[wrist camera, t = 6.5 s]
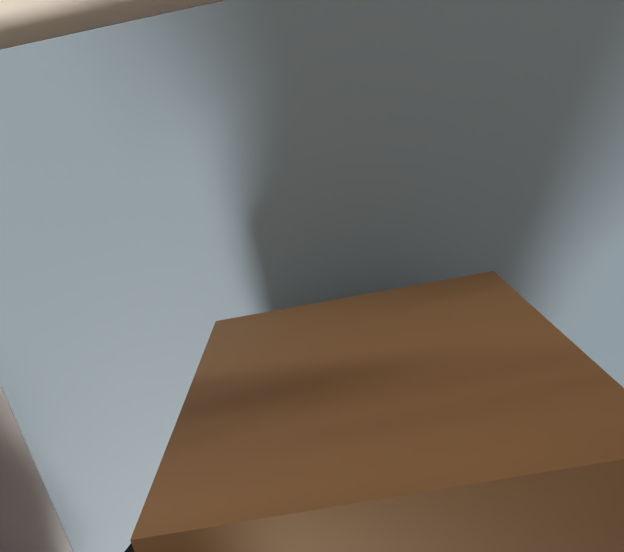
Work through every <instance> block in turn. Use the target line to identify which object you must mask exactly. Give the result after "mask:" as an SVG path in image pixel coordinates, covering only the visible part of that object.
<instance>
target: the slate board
mask: <svg viewBox="0 0 624 552" xmlns="http://www.w3.org/2000/svg"><path fill="white" fill-rule="evenodd" d="M490 271H494V272H495V273H496V274H497V275H498V276H500V277H501V278H502V279H503V280H504V281H505V282H506V283H507V284H508V285H510V286H511V287H512V288H513V289H514V290H515V291H516V292H517V293H518V294H520V295H521V296H522V297H523V298H524V299H525V300H526V301H527V302H529V303H530V304H531V305H532V306H533V307H534V308H535V309H536V310H537V311H539V312H540V313H541V314H542V315H543V316H544V317H545V318H546V319H547V320H549V321H550V322H551V323H552V324H553V325H554V326H555V327H556V328H557V329H559V330H560V331H561V332H562V333H563V334H564V335H565V336H566V337H567V338H569V339H570V340H571V341H572V342H573V343H574V344H575V345H576V346H577V347H579V348H580V349H581V350H582V351H583V352H584V353H585V354H586V355H588V356H589V357H590V358H591V359H592V360H593V361H594V362H595V363H596V364H598V365H599V366H600V367H601V368H602V369H603V370H604V371H605V372H606V373H608V374H609V375H610V376H611V377H612V378H613V379H614V380H615V381H616V382H618V383H619V384H620V385H621V386H622V387H623V388H624V0H224V1H219V2H214V3H210V4H205V5H201V6H196V7H192V8H187V9H183V10H178V11H174V12H169V13H164V14H160V15H155V16H151V17H146V18H142V19H137V20H133V21H128V22H123V23H119V24H114V25H110V26H105V27H101V28H96V29H92V30H87V31H83V32H78V33H73V34H69V35H64V36H60V37H55V38H51V39H46V40H42V41H37V42H33V43H28V44H23V45H19V46H14V47H10V48H5V49H1V50H0V385H1V388H2V390H3V392H4V395H5V397H6V399H7V401H8V404H9V406H10V408H11V410H12V413H13V415H14V417H15V420H16V422H17V424H18V426H19V429H20V431H21V433H22V436H23V438H24V440H25V442H26V445H27V447H28V449H29V452H30V454H31V456H32V458H33V461H34V463H35V465H36V468H37V470H38V472H39V474H40V477H41V479H42V481H43V483H44V486H45V488H46V490H47V493H48V495H49V497H50V499H51V502H52V504H53V506H54V509H55V511H56V513H57V515H58V518H59V520H60V522H61V525H62V527H63V529H64V531H65V534H66V536H67V538H68V540H69V543H70V545H71V547H72V550H73V552H125V550H126V549H127V548H128V546H129V545H130V544H131V541H130V539H131V537H132V534H133V531H134V529H135V526H136V524H137V521H138V519H139V516H140V514H141V511H142V508H143V506H144V503H145V501H146V498H147V496H148V493H149V491H150V488H151V485H152V483H153V480H154V478H155V475H156V473H157V470H158V468H159V465H160V462H161V460H162V457H163V455H164V452H165V450H166V447H167V444H168V442H169V439H170V437H171V434H172V432H173V429H174V427H175V424H176V421H177V419H178V416H179V414H180V411H181V409H182V406H183V404H184V401H185V398H186V396H187V393H188V391H189V388H190V386H191V383H192V381H193V378H194V375H195V373H196V370H197V368H198V365H199V363H200V360H201V357H202V355H203V352H204V350H205V347H206V345H207V342H208V340H209V337H210V334H211V332H212V329H213V327H214V324H215V322H216V321H219V320H224V319H230V318H235V317H241V316H246V315H252V314H257V313H263V312H269V311H274V310H280V309H285V308H291V307H296V306H302V305H307V304H313V303H318V302H324V301H329V300H335V299H341V298H346V297H352V296H357V295H363V294H368V293H374V292H379V291H385V290H390V289H396V288H402V287H407V286H413V285H418V284H424V283H429V282H435V281H440V280H446V279H451V278H457V277H463V276H468V275H474V274H479V273H485V272H490Z"/></svg>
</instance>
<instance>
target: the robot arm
mask: <svg viewBox="0 0 624 552" xmlns="http://www.w3.org/2000/svg"><path fill="white" fill-rule="evenodd" d="M125 552H134V549H133V547H132V544H130V545H129V546H128V548H127V549H126V550H125Z"/></svg>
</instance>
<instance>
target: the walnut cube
mask: <svg viewBox="0 0 624 552" xmlns="http://www.w3.org/2000/svg"><path fill="white" fill-rule="evenodd" d="M130 541H131V544H132V547H133V549H134V552H624V388H623V387H622V386H621V385H620V384H619V383H618V382H616V381H615V380H614V379H613V378H612V377H611V376H610V375H609V374H608V373H606V372H605V371H604V370H603V369H602V368H601V367H600V366H599V365H598V364H596V363H595V362H594V361H593V360H592V359H591V358H590V357H589V356H588V355H586V354H585V353H584V352H583V351H582V350H581V349H580V348H579V347H577V346H576V345H575V344H574V343H573V342H572V341H571V340H570V339H569V338H567V337H566V336H565V335H564V334H563V333H562V332H561V331H560V330H559V329H557V328H556V327H555V326H554V325H553V324H552V323H551V322H550V321H549V320H547V319H546V318H545V317H544V316H543V315H542V314H541V313H540V312H539V311H537V310H536V309H535V308H534V307H533V306H532V305H531V304H530V303H529V302H527V301H526V300H525V299H524V298H523V297H522V296H521V295H520V294H518V293H517V292H516V291H515V290H514V289H513V288H512V287H511V286H510V285H508V284H507V283H506V282H505V281H504V280H503V279H502V278H501V277H500V276H498V275H497V274H496V273H495V272H494V271H490V272H485V273H479V274H474V275H468V276H463V277H457V278H451V279H446V280H440V281H435V282H429V283H424V284H418V285H413V286H407V287H402V288H396V289H390V290H385V291H379V292H374V293H368V294H363V295H357V296H352V297H346V298H341V299H335V300H329V301H324V302H318V303H313V304H307V305H302V306H296V307H291V308H285V309H280V310H274V311H269V312H263V313H257V314H252V315H246V316H241V317H235V318H230V319H224V320H219V321H216V322H215V324H214V327H213V329H212V332H211V334H210V337H209V340H208V342H207V345H206V347H205V350H204V352H203V355H202V357H201V360H200V363H199V365H198V368H197V370H196V373H195V375H194V378H193V381H192V383H191V386H190V388H189V391H188V393H187V396H186V398H185V401H184V404H183V406H182V409H181V411H180V414H179V416H178V419H177V421H176V424H175V427H174V429H173V432H172V434H171V437H170V439H169V442H168V444H167V447H166V450H165V452H164V455H163V457H162V460H161V462H160V465H159V468H158V470H157V473H156V475H155V478H154V480H153V483H152V485H151V488H150V491H149V493H148V496H147V498H146V501H145V503H144V506H143V508H142V511H141V514H140V516H139V519H138V521H137V524H136V526H135V529H134V531H133V534H132V537H131V539H130Z"/></svg>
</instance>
